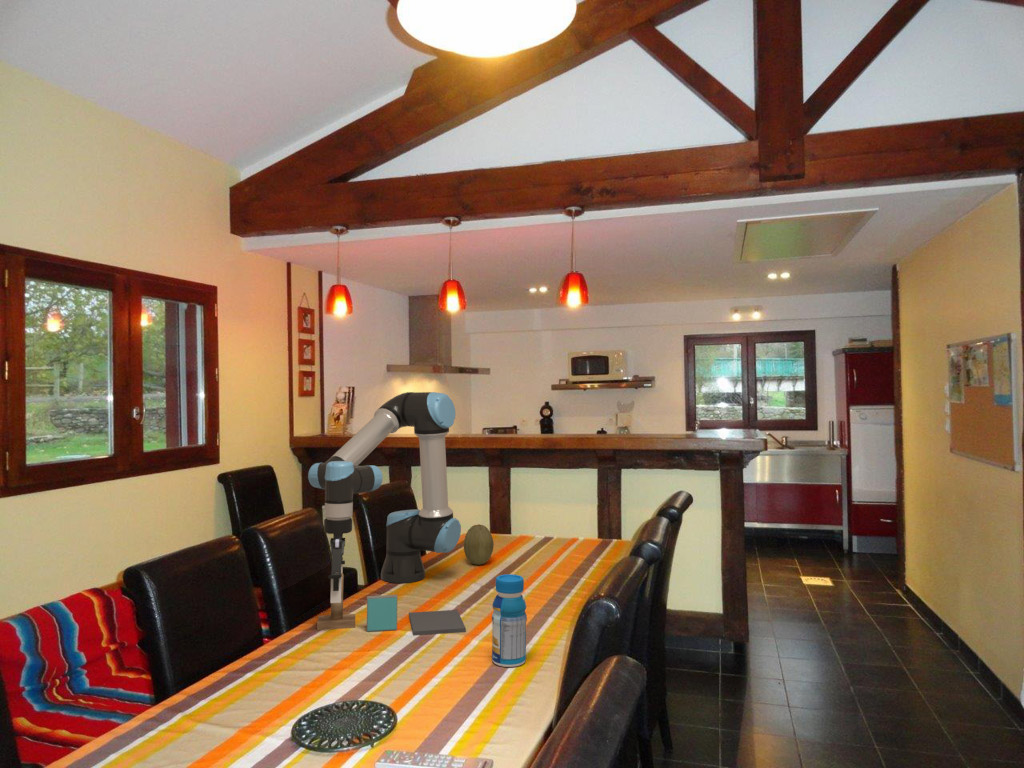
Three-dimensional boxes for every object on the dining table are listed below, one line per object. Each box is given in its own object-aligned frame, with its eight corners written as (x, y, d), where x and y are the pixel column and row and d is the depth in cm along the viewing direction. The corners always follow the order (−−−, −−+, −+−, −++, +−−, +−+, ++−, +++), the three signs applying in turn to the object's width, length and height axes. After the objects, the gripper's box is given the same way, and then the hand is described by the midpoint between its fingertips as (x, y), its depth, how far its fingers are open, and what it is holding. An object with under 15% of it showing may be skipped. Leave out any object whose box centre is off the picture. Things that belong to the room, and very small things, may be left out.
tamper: (318, 623, 189) (319, 572, 189) (355, 620, 191) (356, 570, 191) (317, 630, 183) (317, 578, 183) (355, 627, 185) (356, 576, 185)
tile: (366, 629, 184) (367, 596, 184) (396, 627, 186) (396, 594, 186) (366, 632, 182) (367, 598, 182) (397, 630, 183) (397, 597, 184)
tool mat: (408, 616, 195) (408, 612, 195) (457, 613, 198) (457, 609, 198) (413, 635, 180) (413, 631, 180) (465, 631, 183) (465, 628, 183)
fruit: (499, 563, 258) (499, 523, 258) (482, 569, 249) (482, 528, 249) (474, 559, 264) (475, 520, 265) (457, 565, 255) (457, 525, 255)
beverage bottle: (514, 671, 157) (515, 584, 157) (484, 663, 162) (485, 578, 162) (532, 659, 164) (533, 576, 165) (503, 652, 169) (504, 571, 169)
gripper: (326, 510, 199) (324, 583, 198) (321, 526, 175) (319, 609, 174) (352, 510, 201) (350, 582, 200) (351, 525, 176) (349, 608, 176)
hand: (336, 595), depth 187 cm, fingers open, 13 cm apart
